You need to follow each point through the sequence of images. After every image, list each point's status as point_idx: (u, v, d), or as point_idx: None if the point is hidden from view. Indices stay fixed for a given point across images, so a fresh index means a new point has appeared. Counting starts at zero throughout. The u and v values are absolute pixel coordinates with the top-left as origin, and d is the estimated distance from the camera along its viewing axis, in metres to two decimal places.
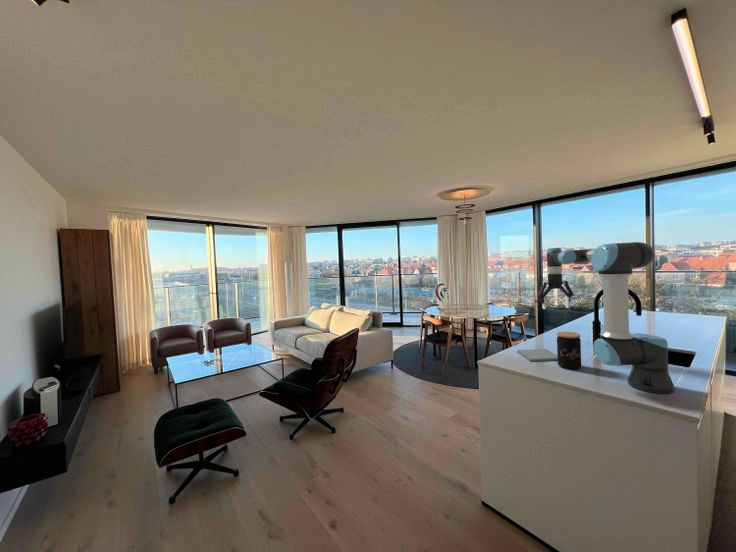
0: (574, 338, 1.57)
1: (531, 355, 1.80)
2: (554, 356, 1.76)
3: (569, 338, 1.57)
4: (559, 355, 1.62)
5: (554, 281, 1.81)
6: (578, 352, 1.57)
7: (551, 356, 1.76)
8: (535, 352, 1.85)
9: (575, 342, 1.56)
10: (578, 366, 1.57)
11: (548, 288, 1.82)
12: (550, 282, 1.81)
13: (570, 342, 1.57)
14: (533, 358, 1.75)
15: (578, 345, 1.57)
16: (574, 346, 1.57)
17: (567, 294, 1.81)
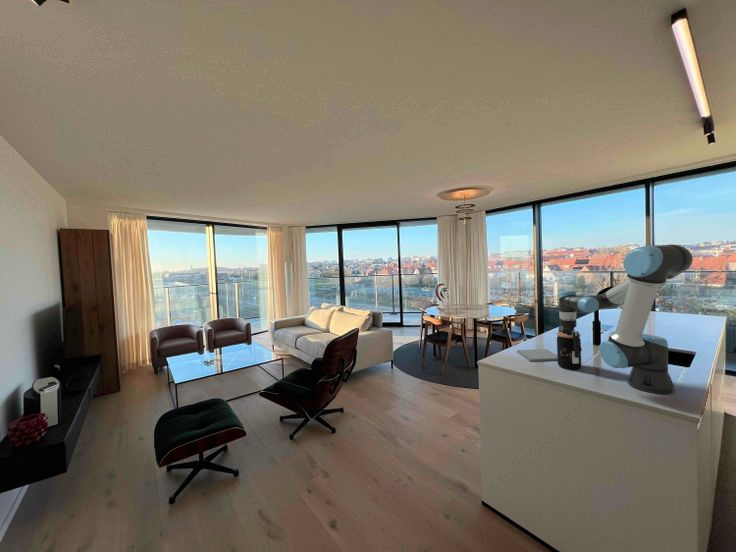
0: None
1: (531, 355, 1.80)
2: (554, 356, 1.76)
3: (569, 338, 1.57)
4: (559, 355, 1.62)
5: (565, 327, 1.62)
6: None
7: (551, 356, 1.76)
8: (535, 352, 1.85)
9: None
10: (578, 366, 1.57)
11: None
12: (562, 327, 1.65)
13: (570, 342, 1.57)
14: (533, 358, 1.75)
15: None
16: None
17: (572, 347, 1.57)
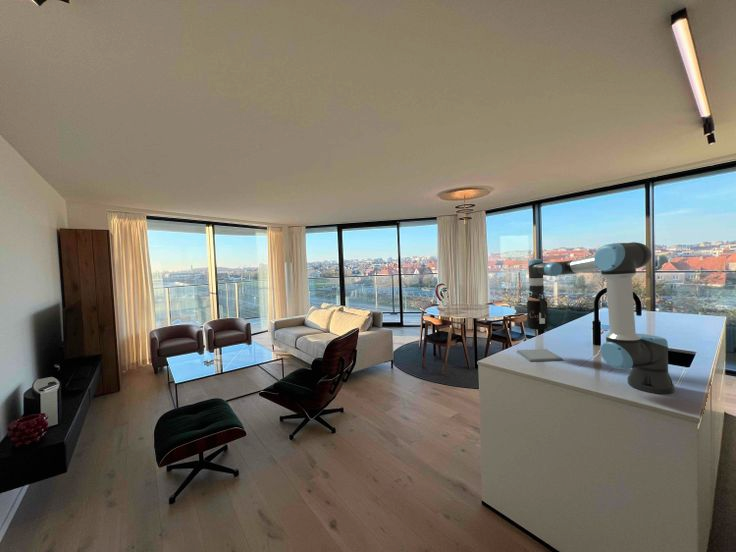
0: None
1: (531, 355, 1.80)
2: (554, 356, 1.76)
3: (536, 301, 1.76)
4: (528, 318, 1.80)
5: (533, 292, 1.81)
6: None
7: (551, 356, 1.76)
8: (535, 352, 1.85)
9: None
10: (544, 326, 1.76)
11: None
12: (532, 293, 1.83)
13: (537, 305, 1.75)
14: (533, 358, 1.75)
15: None
16: None
17: (539, 309, 1.75)
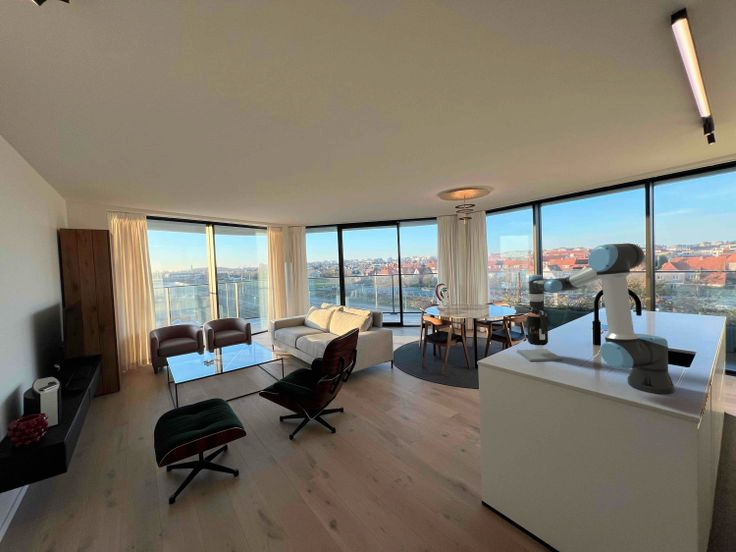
0: None
1: (531, 355, 1.80)
2: (554, 356, 1.76)
3: (537, 317, 1.76)
4: (528, 333, 1.81)
5: (534, 308, 1.81)
6: (545, 329, 1.76)
7: (551, 356, 1.76)
8: (535, 352, 1.85)
9: None
10: (545, 342, 1.76)
11: None
12: (532, 308, 1.84)
13: (537, 320, 1.76)
14: (533, 358, 1.75)
15: None
16: None
17: None
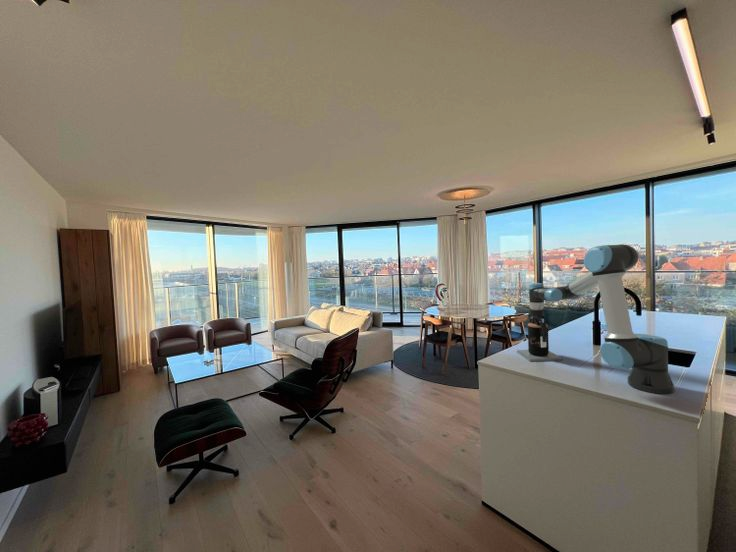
0: None
1: (531, 355, 1.80)
2: (554, 356, 1.76)
3: (537, 328, 1.77)
4: (529, 343, 1.81)
5: (534, 316, 1.82)
6: None
7: (551, 356, 1.76)
8: None
9: None
10: (545, 353, 1.77)
11: None
12: (532, 316, 1.84)
13: (538, 331, 1.76)
14: (533, 358, 1.75)
15: None
16: None
17: None
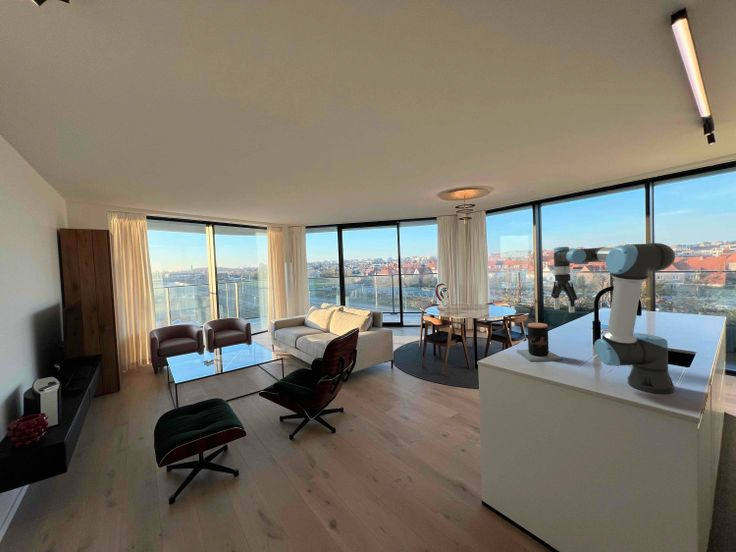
0: (542, 328, 1.76)
1: (531, 355, 1.80)
2: (554, 356, 1.76)
3: (537, 328, 1.76)
4: (529, 344, 1.81)
5: (560, 282, 1.73)
6: (545, 340, 1.76)
7: (551, 356, 1.76)
8: None
9: (542, 332, 1.76)
10: (545, 353, 1.77)
11: None
12: (557, 282, 1.76)
13: (538, 331, 1.76)
14: (533, 358, 1.75)
15: (545, 334, 1.76)
16: (541, 335, 1.76)
17: (568, 297, 1.66)
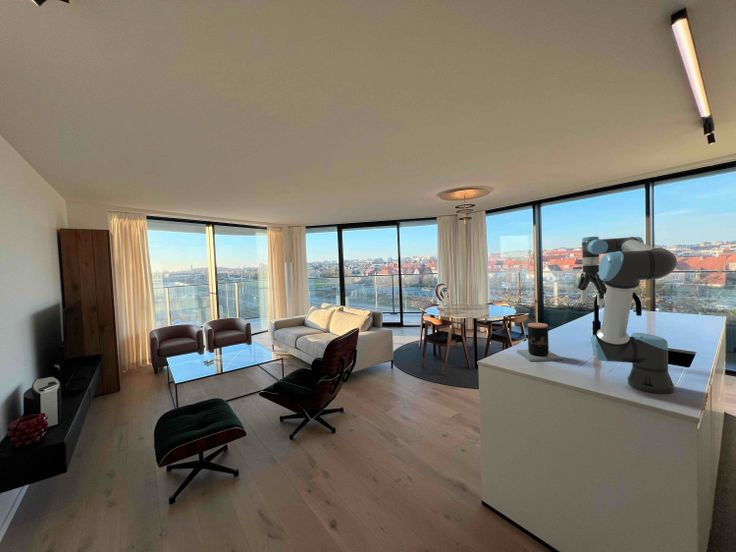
0: (542, 328, 1.76)
1: (531, 355, 1.80)
2: (554, 356, 1.76)
3: (537, 328, 1.76)
4: (529, 344, 1.81)
5: (588, 273, 1.67)
6: (545, 340, 1.76)
7: (551, 356, 1.76)
8: None
9: (542, 332, 1.76)
10: (545, 353, 1.77)
11: None
12: (585, 274, 1.69)
13: (538, 331, 1.76)
14: (533, 358, 1.75)
15: (545, 334, 1.76)
16: (542, 335, 1.76)
17: (597, 289, 1.60)
